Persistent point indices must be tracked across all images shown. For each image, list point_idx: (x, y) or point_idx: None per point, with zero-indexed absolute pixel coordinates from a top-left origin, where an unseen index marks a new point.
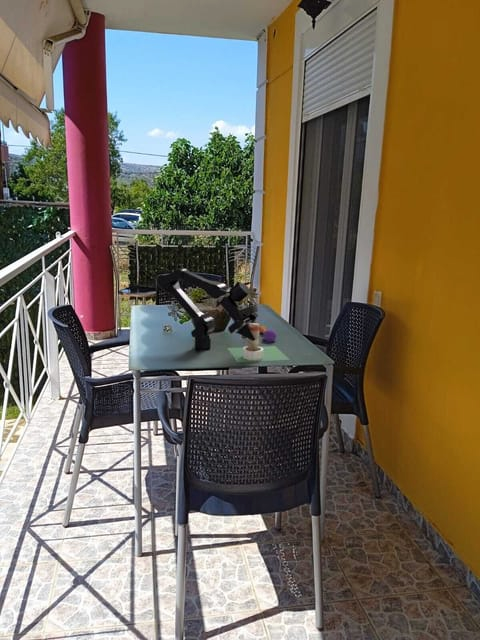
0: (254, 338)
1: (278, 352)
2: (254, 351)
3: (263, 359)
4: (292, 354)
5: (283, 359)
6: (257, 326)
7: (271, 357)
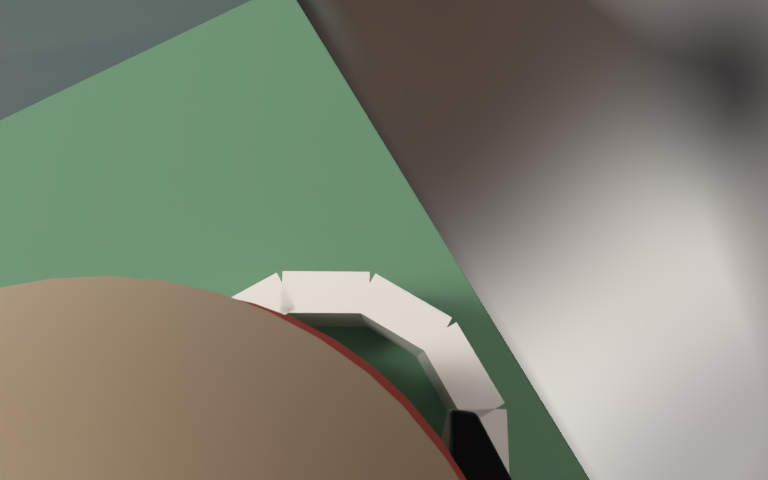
0: (478, 427)
1: (33, 149)
2: (466, 391)
3: (391, 269)
4: (35, 3)
5: (301, 47)
6: (364, 365)
7: (272, 191)
